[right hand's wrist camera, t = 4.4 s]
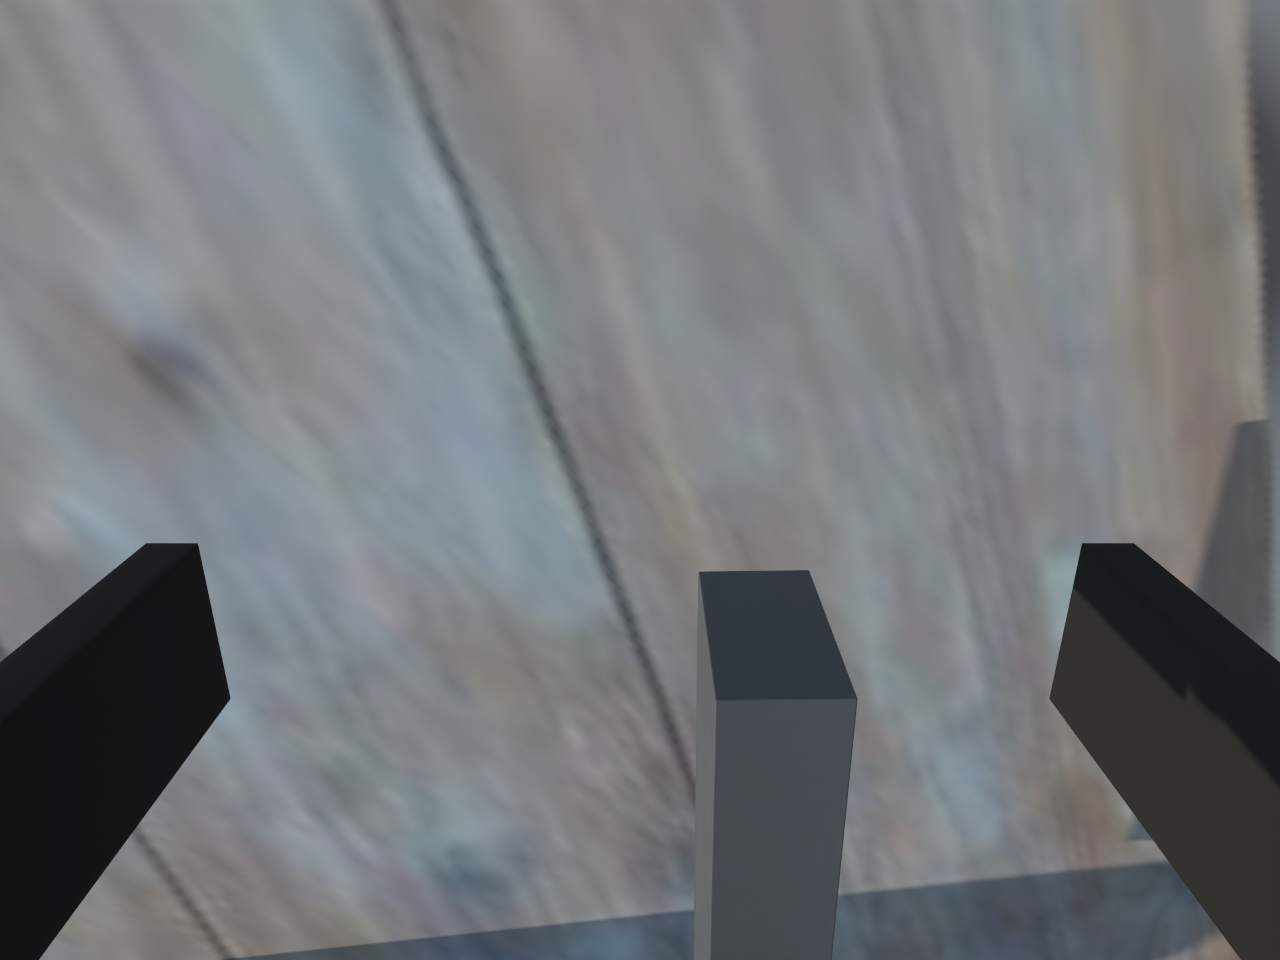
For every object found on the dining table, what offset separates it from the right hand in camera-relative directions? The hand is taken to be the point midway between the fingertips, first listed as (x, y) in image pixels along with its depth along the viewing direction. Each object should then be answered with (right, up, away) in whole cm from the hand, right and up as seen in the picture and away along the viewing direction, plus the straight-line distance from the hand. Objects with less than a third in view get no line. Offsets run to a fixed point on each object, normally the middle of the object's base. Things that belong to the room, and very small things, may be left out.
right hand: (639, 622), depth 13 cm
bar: (+5, -14, +27) cm, 31 cm away
